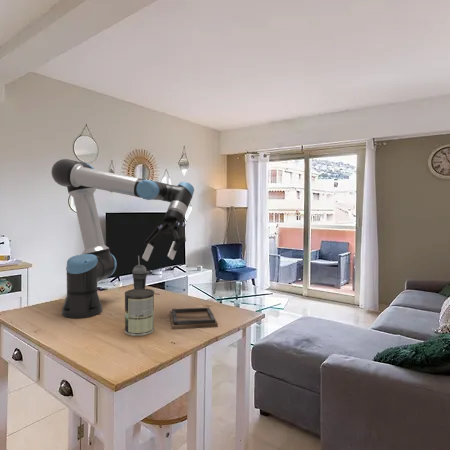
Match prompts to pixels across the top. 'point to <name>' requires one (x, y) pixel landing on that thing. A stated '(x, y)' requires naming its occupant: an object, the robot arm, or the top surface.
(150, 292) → the coffee can
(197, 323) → the walnut board
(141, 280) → the beverage cup
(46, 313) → the top surface
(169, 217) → the robot arm
